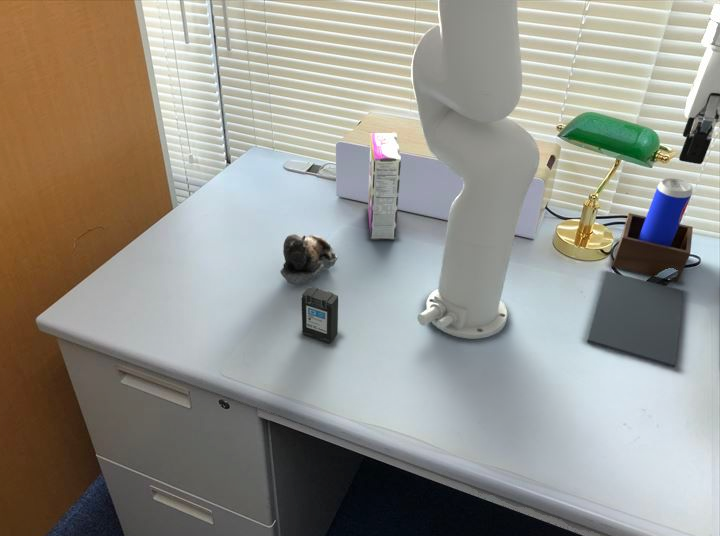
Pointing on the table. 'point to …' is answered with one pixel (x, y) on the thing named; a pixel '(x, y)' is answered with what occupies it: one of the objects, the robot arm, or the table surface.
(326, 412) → the table surface
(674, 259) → the brown wooden box
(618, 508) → the table surface
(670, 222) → the beverage can
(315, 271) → the bison figurine
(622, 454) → the table surface
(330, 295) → the ink cartridge
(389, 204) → the candy bar box
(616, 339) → the desk mat
